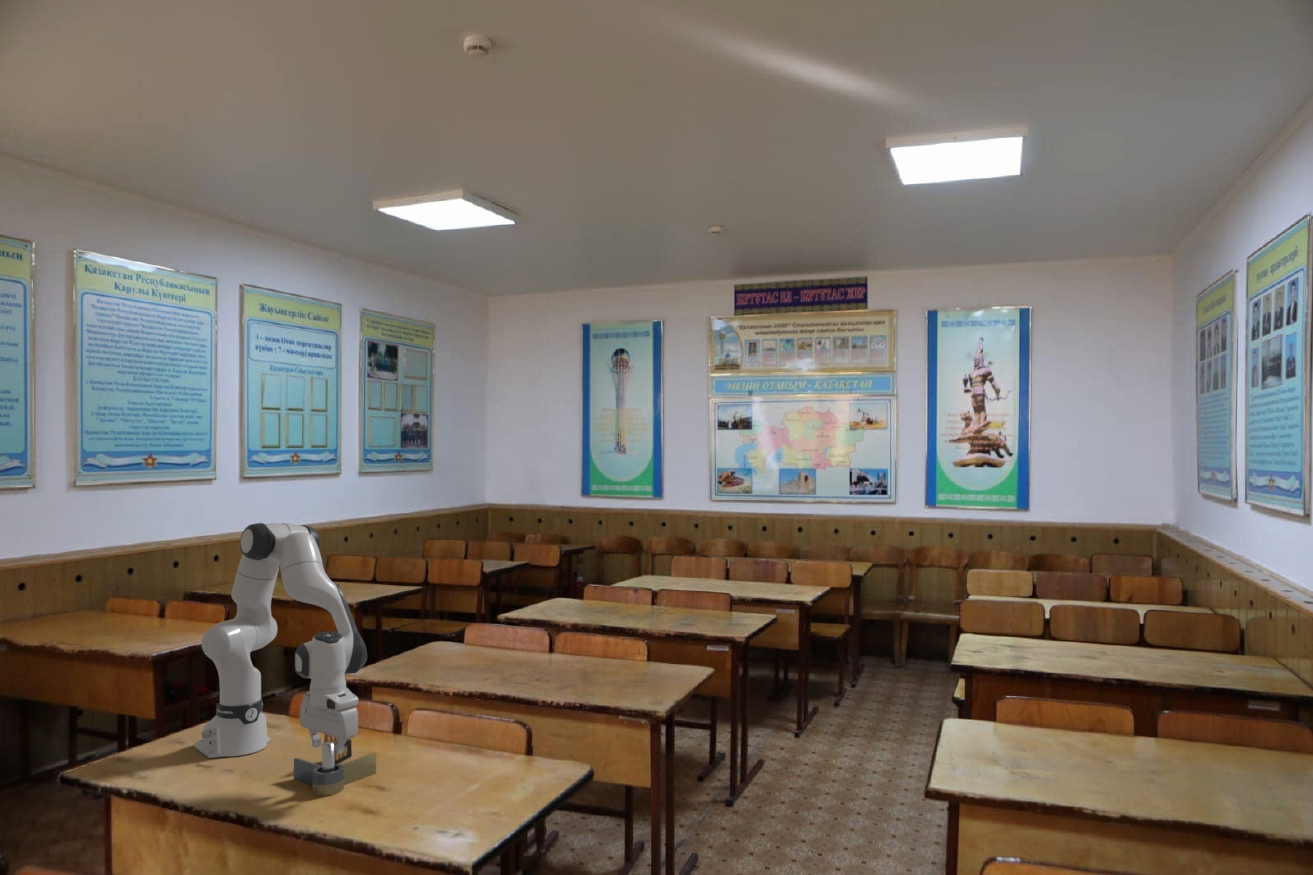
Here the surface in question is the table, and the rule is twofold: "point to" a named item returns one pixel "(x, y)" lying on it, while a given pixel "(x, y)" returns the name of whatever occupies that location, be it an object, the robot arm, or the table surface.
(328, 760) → the hinge pin
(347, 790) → the table surface
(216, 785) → the table surface
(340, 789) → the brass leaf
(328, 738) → the ammunition clip
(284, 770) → the table surface
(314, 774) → the steel leaf
